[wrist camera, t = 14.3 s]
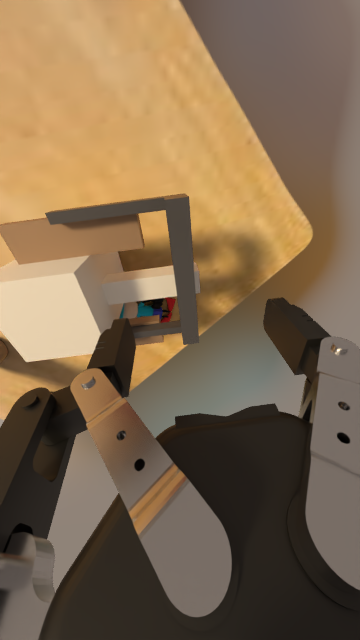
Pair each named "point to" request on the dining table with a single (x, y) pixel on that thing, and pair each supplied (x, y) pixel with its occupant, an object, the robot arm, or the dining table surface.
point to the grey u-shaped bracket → (180, 250)
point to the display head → (74, 284)
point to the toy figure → (147, 309)
